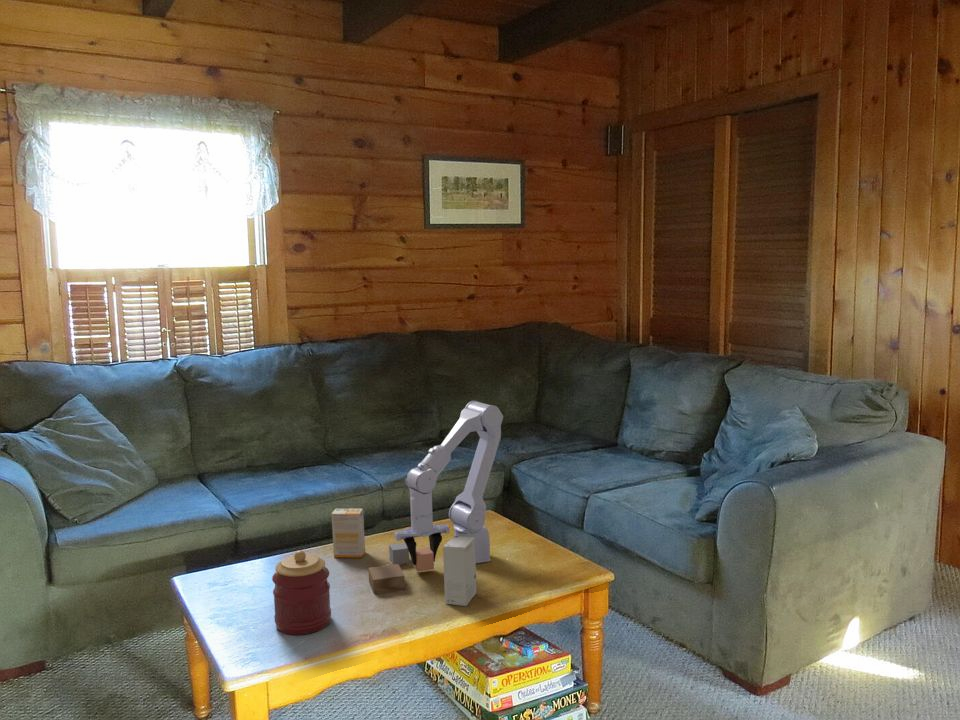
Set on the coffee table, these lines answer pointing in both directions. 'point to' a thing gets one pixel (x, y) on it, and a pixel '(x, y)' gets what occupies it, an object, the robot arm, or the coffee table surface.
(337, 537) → the supplement box
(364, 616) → the coffee table surface
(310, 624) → the canister
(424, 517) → the robot arm
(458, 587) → the skincare box
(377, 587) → the walnut block
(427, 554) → the terracotta cube
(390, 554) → the slate grey cube
